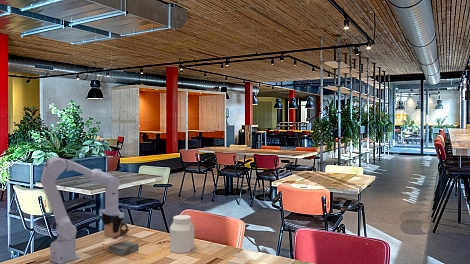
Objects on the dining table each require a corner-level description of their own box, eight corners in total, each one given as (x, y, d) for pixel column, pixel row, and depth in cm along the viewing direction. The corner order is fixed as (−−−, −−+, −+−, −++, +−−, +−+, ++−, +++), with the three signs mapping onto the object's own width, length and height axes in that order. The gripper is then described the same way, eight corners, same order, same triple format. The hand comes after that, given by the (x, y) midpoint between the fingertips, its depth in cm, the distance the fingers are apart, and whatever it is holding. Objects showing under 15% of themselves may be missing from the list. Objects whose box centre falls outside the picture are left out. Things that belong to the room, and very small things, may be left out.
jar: (187, 254, 164) (187, 220, 163) (167, 252, 166) (167, 219, 166) (196, 246, 175) (196, 214, 175) (177, 244, 177) (177, 213, 177)
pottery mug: (129, 233, 196) (131, 222, 192) (123, 246, 188) (125, 235, 184) (107, 228, 195) (109, 216, 192) (100, 241, 187) (102, 229, 183)
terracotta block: (111, 237, 166) (111, 226, 166) (104, 235, 169) (104, 224, 169) (120, 234, 170) (120, 224, 170) (113, 232, 173) (113, 222, 173)
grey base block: (122, 257, 161) (122, 249, 161) (109, 253, 166) (109, 245, 166) (138, 251, 168) (138, 243, 168) (125, 247, 174) (125, 240, 173)
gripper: (129, 202, 168) (129, 231, 169) (108, 198, 176) (108, 226, 177) (116, 205, 163) (117, 235, 163) (96, 201, 170) (96, 230, 171)
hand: (112, 231), depth 169 cm, fingers closed on terracotta block, 5 cm apart
